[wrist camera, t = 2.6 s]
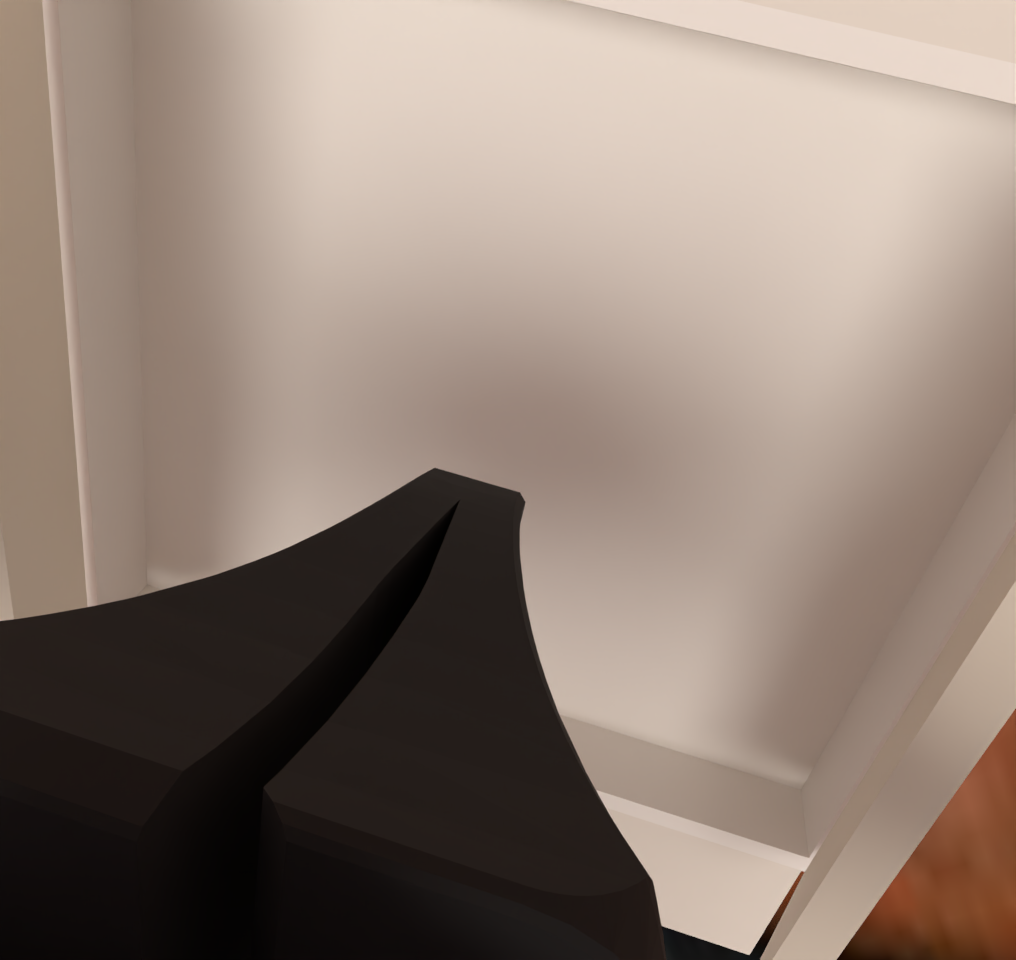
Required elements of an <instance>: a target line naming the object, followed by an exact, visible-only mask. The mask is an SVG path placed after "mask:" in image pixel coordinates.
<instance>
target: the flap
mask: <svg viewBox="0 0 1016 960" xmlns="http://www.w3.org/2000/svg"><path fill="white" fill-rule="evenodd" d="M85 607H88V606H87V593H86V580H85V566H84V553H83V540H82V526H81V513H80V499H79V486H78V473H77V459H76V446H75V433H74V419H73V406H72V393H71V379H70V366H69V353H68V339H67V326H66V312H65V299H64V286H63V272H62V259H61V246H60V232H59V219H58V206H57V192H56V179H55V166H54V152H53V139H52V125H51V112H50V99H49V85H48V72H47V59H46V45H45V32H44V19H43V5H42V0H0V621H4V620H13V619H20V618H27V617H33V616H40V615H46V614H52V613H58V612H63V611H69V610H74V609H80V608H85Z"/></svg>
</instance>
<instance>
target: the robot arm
mask: <svg viewBox="0 0 1016 960" xmlns="http://www.w3.org/2000/svg"><path fill="white" fill-rule="evenodd" d="M525 503H526V502H525V500H524V498H523V497H522V495H521V493H520V492H517V491H513V490H510V489H507V488H503V487H500V486H496V485H493V484H489V483H486V482H482V481H479V480H476V479H472V478H469V477H465V476H462V475H458V474H455V473H451V472H448V471H444V470H441V469H438V468H433V469H431V470H429V471H427V472H426V473H424V474H422V475H420V476H419V477H417V478H415V479H414V480H412V481H410V482H409V483H407V484H405V485H404V486H402V487H400V488H399V489H397V490H395V491H394V492H392V493H390V494H389V495H387V496H385V497H384V498H382V499H380V500H379V501H377V502H375V503H373V504H372V505H370V506H368V507H366V508H364V509H363V510H361V511H359V512H357V513H355V514H354V515H352V516H350V517H348V518H346V519H345V520H343V521H341V522H339V523H337V524H335V525H333V526H332V527H330V528H328V529H326V530H323V531H321V532H319V533H317V534H315V535H313V536H311V537H309V538H307V539H305V540H303V541H301V542H298V543H296V544H294V545H292V546H290V547H288V548H285V549H283V550H281V551H278V552H276V553H273V554H271V555H268V556H266V557H263V558H261V559H258V560H256V561H253V562H250V563H247V564H244V565H242V566H239V567H236V568H233V569H230V570H228V571H225V572H222V573H219V574H216V575H213V576H210V577H206V578H203V579H199V580H195V581H192V582H188V583H185V584H181V585H177V586H174V587H170V588H166V589H163V590H159V591H156V592H152V593H148V594H145V595H141V596H137V597H133V598H128V599H124V600H119V601H114V602H110V603H105V604H100V605H96V606H91V607H85V608H80V609H74V610H69V611H63V612H58V613H52V614H46V615H40V616H33V617H27V618H20V619H13V620H4V621H0V960H666V954H665V947H664V939H663V932H662V926H661V921H660V915H659V909H658V904H657V898H656V893H655V888H654V884H653V880H652V879H651V877H650V876H649V874H648V873H647V871H646V870H645V868H644V867H643V865H642V864H641V862H640V861H639V859H638V858H637V856H636V855H635V853H634V852H633V850H632V849H631V847H630V846H629V844H628V843H627V841H626V840H625V838H624V837H623V835H622V834H621V832H620V831H619V829H618V827H617V826H616V824H615V823H614V821H613V819H612V818H611V816H610V814H609V813H608V811H607V809H606V807H605V806H604V804H603V802H602V800H601V798H600V797H599V795H598V793H597V791H596V789H595V788H594V786H593V784H592V782H591V780H590V778H589V777H588V775H587V773H586V771H585V769H584V767H583V765H582V762H581V760H580V758H579V756H578V754H577V752H576V750H575V747H574V745H573V743H572V741H571V739H570V737H569V734H568V732H567V730H566V728H565V726H564V724H563V722H562V719H561V717H560V715H559V713H558V710H557V707H556V705H555V702H554V699H553V697H552V694H551V691H550V689H549V686H548V683H547V680H546V677H545V674H544V671H543V668H542V665H541V662H540V659H539V655H538V652H537V648H536V644H535V641H534V637H533V633H532V629H531V624H530V619H529V614H528V609H527V605H526V599H525V593H524V586H523V577H522V569H521V560H520V523H521V519H522V515H523V511H524V507H525Z"/></svg>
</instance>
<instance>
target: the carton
mask: <svg viewBox="0 0 1016 960" xmlns="http://www.w3.org/2000/svg"><path fill="white" fill-rule="evenodd" d="M42 5H43V19H44V32H45V45H46V59H47V72H48V85H49V99H50V112H51V125H52V139H53V152H54V166H55V179H56V192H57V206H58V219H59V232H60V246H61V259H62V272H63V286H64V299H65V312H66V326H67V339H68V353H69V366H70V379H71V393H72V406H73V419H74V433H75V446H76V459H77V473H78V486H79V499H80V513H81V526H82V540H83V553H84V566H85V580H86V593H87V606H88V607H91V606H96V605H100V604H105V603H110V602H114V601H119V600H124V599H128V598H133V597H137V596H141V595H145V594H148V593H152V592H156V591H159V590H163V589H166V588H170V587H174V586H177V585H181V584H185V583H188V582H192V581H195V580H199V579H203V578H206V577H210V576H213V575H216V574H219V573H222V572H225V571H228V570H230V569H233V568H236V567H239V566H242V565H244V564H247V563H250V562H253V561H256V560H258V559H261V558H263V557H266V556H268V555H271V554H273V553H276V552H278V551H281V550H283V549H285V548H288V547H290V546H292V545H294V544H296V543H298V542H301V541H303V540H305V539H307V538H309V537H311V536H313V535H315V534H317V533H319V532H321V531H323V530H326V529H328V528H330V527H332V526H333V525H335V524H337V523H339V522H341V521H343V520H345V519H346V518H348V517H350V516H352V515H354V514H355V513H357V512H359V511H361V510H363V509H364V508H366V507H368V506H370V505H372V504H373V503H375V502H377V501H379V500H380V499H382V498H384V497H385V496H387V495H389V494H390V493H392V492H394V491H395V490H397V489H399V488H400V487H402V486H404V485H405V484H407V483H409V482H410V481H412V480H414V479H415V478H417V477H419V476H420V475H422V474H424V473H426V472H427V471H429V470H431V469H433V468H438V469H441V470H444V471H448V472H451V473H455V474H458V475H462V476H465V477H469V478H472V479H476V480H479V481H482V482H486V483H489V484H493V485H496V486H500V487H503V488H507V489H510V490H513V491H517V492H520V493H521V495H522V497H523V498H524V500H525V502H526V503H525V507H524V511H523V515H522V519H521V523H520V560H521V569H522V577H523V586H524V593H525V599H526V605H527V609H528V614H529V619H530V624H531V629H532V633H533V637H534V641H535V644H536V648H537V652H538V655H539V659H540V662H541V665H542V668H543V671H544V674H545V677H546V680H547V683H548V686H549V689H550V691H551V694H552V697H553V699H554V702H555V705H556V707H557V710H558V713H559V715H560V717H561V719H562V722H563V724H564V726H565V728H566V730H567V732H568V734H569V737H570V739H571V741H572V743H573V745H574V747H575V750H576V752H577V754H578V756H579V758H580V760H581V762H582V765H583V767H584V769H585V771H586V773H587V775H588V777H589V778H590V780H591V782H592V784H593V786H594V788H595V789H596V791H597V793H598V795H599V797H600V798H601V800H602V802H603V804H604V806H605V807H606V809H607V811H608V813H609V814H610V816H611V818H612V819H613V821H614V823H615V824H616V826H617V827H618V829H619V831H620V832H621V834H622V835H623V837H624V838H625V840H626V841H627V843H628V844H629V846H630V847H631V849H632V850H633V852H634V853H635V855H636V856H637V858H638V859H639V861H640V862H641V864H642V865H643V867H644V868H645V870H646V871H647V873H648V874H649V876H650V877H651V879H652V880H653V884H654V888H655V893H656V898H657V904H658V909H659V915H660V921H661V926H664V927H667V928H670V929H673V930H676V931H679V932H682V933H685V934H688V935H691V936H694V937H697V938H700V939H703V940H706V941H709V942H712V943H715V944H718V945H721V946H724V947H727V948H730V949H733V950H736V951H739V952H742V953H745V954H748V955H750V953H751V952H752V950H753V948H754V947H755V945H756V943H757V942H758V940H759V939H760V937H761V935H762V934H763V932H764V930H765V929H766V927H767V926H768V924H769V922H770V921H771V919H772V917H773V916H774V914H775V913H776V911H777V909H778V908H779V906H780V904H781V903H782V901H783V900H784V898H785V896H786V895H787V893H788V891H789V890H790V888H791V887H792V885H793V883H794V882H795V880H796V878H797V877H798V875H799V874H800V872H801V871H804V872H805V871H806V869H807V868H808V866H809V865H810V863H811V861H812V860H813V858H814V856H815V855H816V853H817V852H818V850H819V848H820V847H821V845H822V844H823V842H824V840H825V839H826V837H827V835H828V834H829V832H830V831H831V829H832V827H833V826H834V824H835V823H836V821H837V819H838V818H839V816H840V814H841V813H842V811H843V810H844V808H845V806H846V805H847V803H848V802H849V800H850V798H851V797H852V795H853V793H854V792H855V790H856V789H857V787H858V785H859V784H860V782H861V781H862V779H863V777H864V776H865V774H866V772H867V771H868V769H869V768H870V766H871V764H872V763H873V761H874V760H875V758H876V756H877V755H878V753H879V751H880V750H881V748H882V747H883V745H884V743H885V742H886V740H887V739H888V737H889V735H890V734H891V732H892V731H893V729H894V727H895V726H896V724H897V722H898V721H899V719H900V718H901V716H902V714H903V713H904V711H905V710H906V708H907V706H908V705H909V703H910V701H911V700H912V698H913V697H914V695H915V693H916V692H917V690H918V689H919V687H920V685H921V684H922V682H923V680H924V679H925V677H926V676H927V674H928V672H929V671H930V669H931V668H932V666H933V664H934V663H935V661H936V659H937V658H938V656H939V655H940V653H941V651H942V650H943V648H944V647H945V645H946V643H947V642H948V640H949V638H950V637H951V635H952V634H953V632H954V630H955V629H956V627H957V626H958V624H959V622H960V621H961V619H962V617H963V616H964V614H965V613H966V611H967V609H968V608H969V606H970V605H971V603H972V601H973V600H974V598H975V596H976V595H977V593H978V592H979V590H980V588H981V587H982V585H983V584H984V582H985V580H986V579H987V577H988V576H989V574H990V572H991V571H992V569H993V567H994V566H995V564H996V563H997V561H998V559H999V558H1000V556H1001V555H1002V553H1003V551H1004V550H1005V548H1006V546H1007V545H1008V543H1009V542H1010V540H1011V538H1012V537H1013V535H1014V534H1015V532H1016V0H42Z"/></svg>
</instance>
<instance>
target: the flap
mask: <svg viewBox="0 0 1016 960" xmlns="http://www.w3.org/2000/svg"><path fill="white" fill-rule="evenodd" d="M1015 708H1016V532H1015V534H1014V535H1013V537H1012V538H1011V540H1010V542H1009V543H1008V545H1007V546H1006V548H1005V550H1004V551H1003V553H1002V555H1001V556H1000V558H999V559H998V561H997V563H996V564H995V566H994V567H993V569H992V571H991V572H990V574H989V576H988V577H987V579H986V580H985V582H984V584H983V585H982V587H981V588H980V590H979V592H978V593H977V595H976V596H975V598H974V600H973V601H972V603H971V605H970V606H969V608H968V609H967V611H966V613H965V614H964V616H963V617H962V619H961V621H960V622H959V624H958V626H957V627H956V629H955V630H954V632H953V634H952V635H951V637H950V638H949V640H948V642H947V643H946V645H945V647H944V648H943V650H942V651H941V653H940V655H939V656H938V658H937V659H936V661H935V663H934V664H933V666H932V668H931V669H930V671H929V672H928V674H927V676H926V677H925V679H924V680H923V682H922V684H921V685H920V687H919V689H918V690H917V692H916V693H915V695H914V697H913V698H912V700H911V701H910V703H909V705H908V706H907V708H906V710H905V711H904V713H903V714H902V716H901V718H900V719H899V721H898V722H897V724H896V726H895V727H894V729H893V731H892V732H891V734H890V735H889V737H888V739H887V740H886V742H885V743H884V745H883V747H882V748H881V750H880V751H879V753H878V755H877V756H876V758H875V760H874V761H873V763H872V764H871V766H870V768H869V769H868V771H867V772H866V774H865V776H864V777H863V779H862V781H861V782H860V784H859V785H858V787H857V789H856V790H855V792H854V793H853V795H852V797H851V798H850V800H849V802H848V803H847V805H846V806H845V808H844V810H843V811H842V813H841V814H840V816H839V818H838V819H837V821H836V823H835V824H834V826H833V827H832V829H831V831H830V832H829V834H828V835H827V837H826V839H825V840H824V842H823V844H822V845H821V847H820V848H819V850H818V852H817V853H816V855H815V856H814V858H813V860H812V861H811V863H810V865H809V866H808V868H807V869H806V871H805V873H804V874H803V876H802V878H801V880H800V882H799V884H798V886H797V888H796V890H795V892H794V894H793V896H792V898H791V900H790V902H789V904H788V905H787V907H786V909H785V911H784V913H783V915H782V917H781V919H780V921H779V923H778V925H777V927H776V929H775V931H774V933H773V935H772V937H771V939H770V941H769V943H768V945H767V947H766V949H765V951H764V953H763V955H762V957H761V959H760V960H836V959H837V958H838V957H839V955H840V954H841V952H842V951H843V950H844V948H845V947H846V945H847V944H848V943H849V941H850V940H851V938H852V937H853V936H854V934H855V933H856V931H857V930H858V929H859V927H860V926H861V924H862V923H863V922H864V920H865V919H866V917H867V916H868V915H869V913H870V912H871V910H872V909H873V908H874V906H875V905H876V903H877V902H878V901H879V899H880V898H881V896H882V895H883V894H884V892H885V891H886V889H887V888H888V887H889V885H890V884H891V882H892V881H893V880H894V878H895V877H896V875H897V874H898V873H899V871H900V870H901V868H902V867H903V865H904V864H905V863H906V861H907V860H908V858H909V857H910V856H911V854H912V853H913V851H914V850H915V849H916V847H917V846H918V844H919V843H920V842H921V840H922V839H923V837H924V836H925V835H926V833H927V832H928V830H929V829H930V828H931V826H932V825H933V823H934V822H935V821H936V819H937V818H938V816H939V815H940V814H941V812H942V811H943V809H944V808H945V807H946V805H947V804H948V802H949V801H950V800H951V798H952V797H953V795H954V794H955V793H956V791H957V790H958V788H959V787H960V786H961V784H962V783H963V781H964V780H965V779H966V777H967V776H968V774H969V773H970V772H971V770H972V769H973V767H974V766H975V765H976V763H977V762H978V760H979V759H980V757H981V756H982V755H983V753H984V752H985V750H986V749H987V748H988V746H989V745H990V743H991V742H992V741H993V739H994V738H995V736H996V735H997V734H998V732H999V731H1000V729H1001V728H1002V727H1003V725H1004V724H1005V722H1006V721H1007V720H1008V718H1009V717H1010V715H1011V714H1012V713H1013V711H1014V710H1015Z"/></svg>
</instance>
